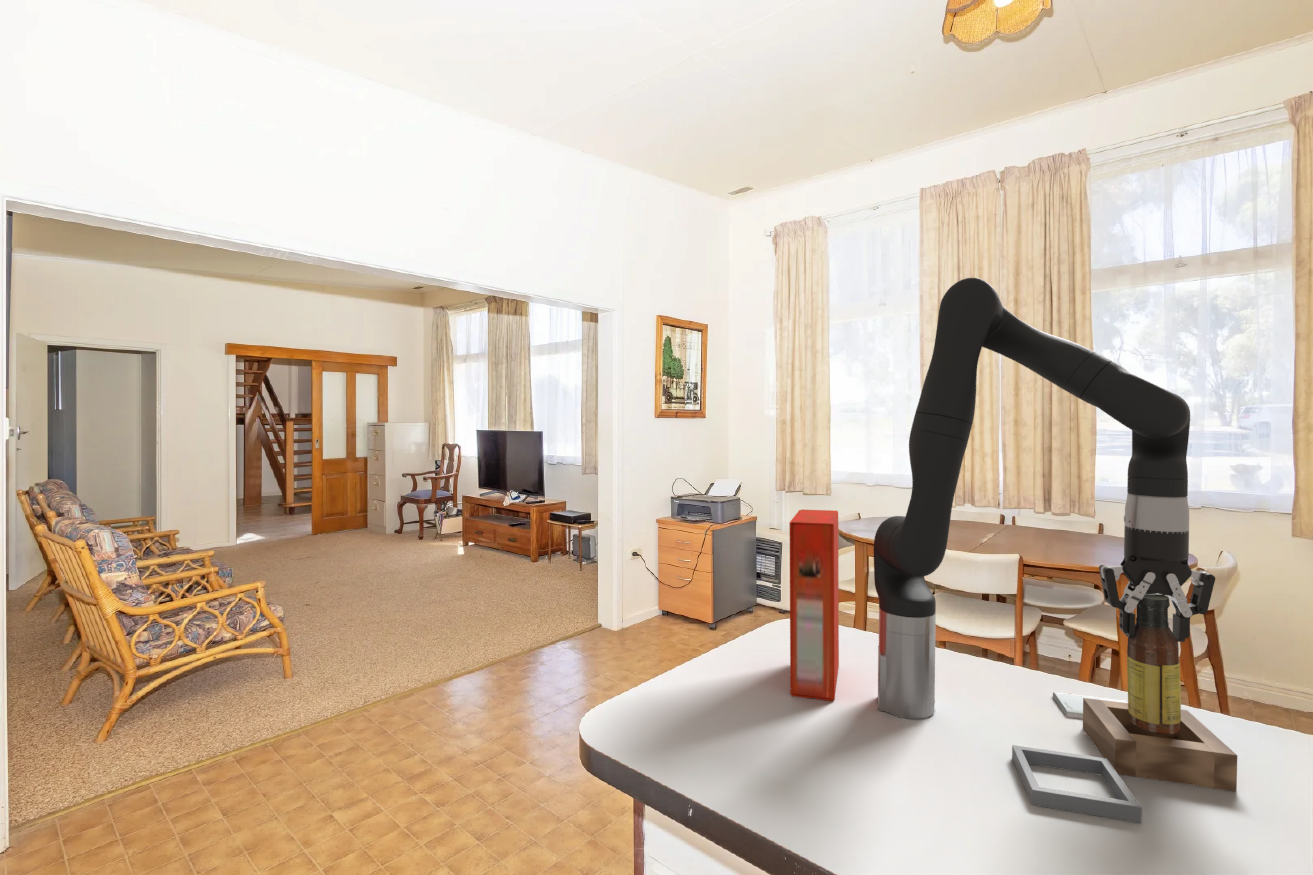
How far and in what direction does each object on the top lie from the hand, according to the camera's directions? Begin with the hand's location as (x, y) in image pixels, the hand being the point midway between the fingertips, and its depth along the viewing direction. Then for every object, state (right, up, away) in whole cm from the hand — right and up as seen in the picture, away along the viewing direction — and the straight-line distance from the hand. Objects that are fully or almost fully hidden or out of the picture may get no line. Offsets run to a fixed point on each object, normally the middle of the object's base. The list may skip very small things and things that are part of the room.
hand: (1153, 637), depth 94 cm
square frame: (-17, -18, -8) cm, 26 cm away
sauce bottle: (0, -14, 0) cm, 14 cm away
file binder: (-43, -17, +28) cm, 55 cm away
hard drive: (+3, -18, +15) cm, 24 cm away
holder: (0, -18, 0) cm, 18 cm away
